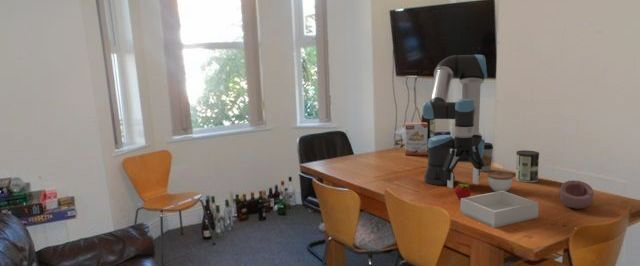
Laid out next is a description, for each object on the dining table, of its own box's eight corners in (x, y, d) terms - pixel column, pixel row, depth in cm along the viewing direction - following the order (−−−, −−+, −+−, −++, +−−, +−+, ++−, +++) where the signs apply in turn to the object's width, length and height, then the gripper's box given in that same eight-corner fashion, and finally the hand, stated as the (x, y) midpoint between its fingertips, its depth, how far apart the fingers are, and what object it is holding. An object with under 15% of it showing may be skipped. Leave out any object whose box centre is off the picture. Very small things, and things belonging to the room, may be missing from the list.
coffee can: (534, 177, 223) (536, 150, 221) (540, 182, 213) (542, 154, 211) (513, 176, 225) (514, 150, 223) (517, 182, 215) (519, 154, 213)
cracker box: (405, 155, 283) (405, 123, 279) (405, 153, 289) (405, 122, 285) (427, 155, 280) (427, 123, 277) (426, 153, 286) (427, 122, 283)
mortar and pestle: (560, 211, 174) (562, 183, 172) (556, 202, 185) (557, 175, 183) (595, 214, 170) (597, 185, 168) (589, 204, 181) (591, 177, 179)
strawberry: (461, 199, 192) (461, 177, 190) (474, 204, 185) (474, 181, 184) (451, 201, 190) (451, 179, 188) (463, 206, 183) (464, 183, 181)
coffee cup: (475, 172, 237) (476, 144, 234) (476, 168, 244) (477, 142, 242) (492, 173, 234) (493, 145, 231) (492, 169, 241) (493, 142, 239)
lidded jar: (501, 195, 196) (501, 175, 195) (482, 189, 206) (483, 170, 204) (517, 191, 201) (518, 171, 199) (498, 185, 210) (499, 167, 209)
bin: (460, 212, 176) (460, 198, 175) (501, 204, 184) (502, 190, 183) (494, 227, 159) (494, 212, 158) (537, 217, 168) (538, 202, 167)
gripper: (445, 140, 174) (444, 191, 177) (493, 134, 184) (492, 183, 187) (434, 137, 181) (433, 187, 184) (480, 132, 191) (479, 180, 194)
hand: (462, 185), depth 186 cm, fingers open, 13 cm apart
